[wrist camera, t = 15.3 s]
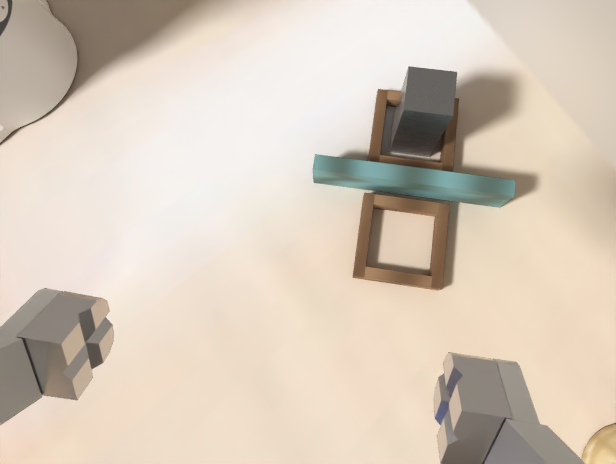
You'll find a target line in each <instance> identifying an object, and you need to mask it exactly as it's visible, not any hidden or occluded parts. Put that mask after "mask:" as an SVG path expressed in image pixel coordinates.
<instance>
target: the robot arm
mask: <svg viewBox="0 0 616 464" xmlns="http://www.w3.org/2000/svg"><path fill="white" fill-rule="evenodd" d="M76 68H77V49H76V45H75V42H74V39H73V37H72V35H71V34H70V32H69V31H68V29H67V28H66V27H65V26H64V25H63V24H62V23H61V22H60V21H59V20H57V19H56V18H55V17H54V16H53V15H52V13H51V11H50V8H49V5H48V3H47V1H46V0H0V142H1V141H3V140H4V139H5V138H6V137H7V136H8V135H9V134H10V133H11V132H12V131H14V130H16V129H18V128H20V127H22V126H24V125H27V124H29V123H31V122H33V121H35V120H37V119H39V118H41V117H42V116H44V115H45V114H46V113H48V112H49V111H50V110H52V109H53V108H54V107H55V106H56V105H57V104H58V103H59V102H60V101H61V99H62V98H63V97H64V96H65V94H66V93H67V91H68V89H69V88H70V86H71V84H72V81H73V79H74V76H75V73H76ZM109 311H110V310H109V306H108V302H107V300H105V299H103V298H99V297H93V296H88V295H82V294H77V293H72V292H66V291H64V292H63V291H58V290H53V289H47V288H44V289H41V290H38V291H37V292H36V293H35V294H34V295H33V296H32V297H31V298H30V299H29V300H28V301H27V302H26V303H25V304H24V305H23V306H22V307H21V308H20V309H19V310H18V311H17V312H16V313H15V314H14V315H12V316H11V317H10V318H9V319H8V320H7V321H6V322H5V323H4V324H3V325H2V326H1V327H0V425H2V424H3V423H5V422H6V421H7V420H9V419H10V418H12V417H13V416H15V415H16V414H18V413H19V412H21V411H22V410H24V409H25V408H27V407H28V406H30V405H31V404H33V403H34V402H36V401H37V400H39V399H40V398H42V395H44V396H51V397H58V398H65V399H72V400H78V399H79V397H80V396H81V394H82V393H83V392H84V390H85V389H86V387H87V386H88V384H89V383H90V381H91V380H92V378H93V373H92V369H93V368H95V367H97V366H98V365H100V364H102V363H103V362H104V361H105V359H106V358H107V356H108V355H109V353H110V350H111V347H112V344H113V339H114V330H113V325H112V324H111V323H110V321H109V320H108V319H107V318H106V315H107V314H108V313H109ZM443 368H444V374H443V375H441V376H439V377H438V380H437V383H436V387H435V393H434V415H435V419H436V420H437V422H438V423H439V424H440V425H441V426H440V429H439V432H438V434H437V441H438V449H439V457H440V464H585V463H584V462H583V461H582V460H581V459H580V458H579V457H578V456H577V455H576V454H575V453H574V452H573V451H572V450H571V449H570V448H569V447H568V446H567V445H566V444H565V443H564V442H563V441H562V440H561V439H560V438H559V437H558V436H557V435H556V434H555V433H554V432H553V431H552V430H551V429H550V428H549V427H548V426H546V425H541V424H540V423H539V420H538V417H537V414H536V411H535V408H534V405H533V402H532V400H531V397H530V394H529V391H528V388H527V385H526V382H525V380H524V377H523V374H522V371H521V368H520V366H519V364H518V363H517V362H513V361H506V360H499V359H491V358H485V357H478V356H471V355H464V354H457V353H451V352H448V354H447V355H446V357H445V359H444V362H443Z"/></svg>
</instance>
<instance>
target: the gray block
mask: <svg viewBox="0 0 616 464" xmlns="http://www.w3.org/2000/svg"><path fill="white" fill-rule="evenodd" d="M456 79H457V72H452V71H444V70H435V69H426V68H417V67H408V70H407V73H406V77H405V80H404V83H403V87H402V90H401V93H400V96H399V100H398V103H397V106H396V110H395V113H394V117H393V125H392V134H391V142H390V150H389V152H394V153H402V154H410V155H418V156H425V157H430V156H431V154H432V152H433V150H434V149H435V147H436V145H437V143H438V142H439V140H440V138H441V136H442V135H443V133H444V131H445V129H446V128H447V126H448V124H449V122H450V121H451V119H452V117H453V112H454V101H455V90H456Z"/></svg>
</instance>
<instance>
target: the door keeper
mask: <svg viewBox="0 0 616 464" xmlns="http://www.w3.org/2000/svg"><path fill="white" fill-rule="evenodd" d="M400 93H401V92H398V91H390V90H381V89H378V92H377V98H376V105H375V113H374V120H373V128H372V135H371V143H370V150H369V158H368V161H363V160H355V159H348V158H340V157H332V156H324V155H317V154H315V159H314V165H313V180H314V183H321V184H328V185H336V186H343V187H350V188H358V189H365V190H373V191H380V192H388V193H395V194H403V195H410V196H418V197H425V198H433V199H440V200H447V201H455V202H462V203H470V204H477V205H485V206H492V207H501V206H502V205H504V204H505V203H506V202H508V201H509V200H510V199H512V198H513V197H514V196H515V180H510V179H502V178H494V177H487V176H479V175H471V174H463V173H456V172H453V161H454V149H455V138H456V126H457V115H458V103H459V99H458V98H455V101H454V112H453V117H452V119H451V121H450V122H449V124H448V126H447V128H446V129H445V131H444V133H443V136H442V147H441V158H440V163H438V162H430V161H423V160H415V159H407V158H399V157H391V156H384V155H380V150H381V142H382V134H383V127H384V119H385V111H386V105H387V106H395V107H396V106H397V103H398V100H399V96H400ZM449 206H450V204H445V203H437V202H430V201H422V200H415V199H407V198H400V197H393V196H385V195H378V194H370V193H364V196H363V203H362V211H361V218H360V226H359V233H358V241H357V248H356V256H355V263H354V271H353V278H358V279H365V280H372V281H379V282H385V283H392V284H399V285H406V286H412V287H419V288H426V289H433V290H441V289H442V286H443V275H444V264H445V252H446V241H447V229H448V218H449ZM373 208H378V209H385V210H392V211H400V212H407V213H414V214H421V215H429V216H435V221H434V232H433V242H432V253H431V263H430V274H429V276H426V275H419V274H413V273H406V272H399V271H392V270H385V269H378V268H372V267H366V261H367V253H368V245H369V237H370V229H371V221H372V213H373Z"/></svg>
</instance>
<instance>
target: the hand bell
mask: <svg viewBox="0 0 616 464" xmlns="http://www.w3.org/2000/svg"><path fill="white" fill-rule="evenodd" d="M582 461H583V462H584V463H585V464H616V424H612V425H609V426H607V427H604V428H602V429H601V430H599V431H598V432H597V433H595V435H594V436H593V437H592V438H591V439H590V440H589V441H588V443H587V445H586V447H585V449H584V452H583V455H582Z"/></svg>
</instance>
